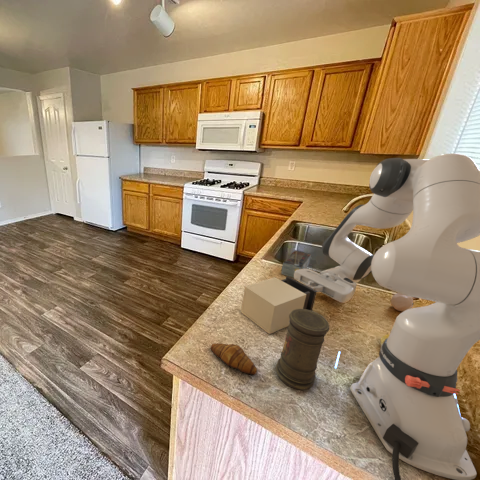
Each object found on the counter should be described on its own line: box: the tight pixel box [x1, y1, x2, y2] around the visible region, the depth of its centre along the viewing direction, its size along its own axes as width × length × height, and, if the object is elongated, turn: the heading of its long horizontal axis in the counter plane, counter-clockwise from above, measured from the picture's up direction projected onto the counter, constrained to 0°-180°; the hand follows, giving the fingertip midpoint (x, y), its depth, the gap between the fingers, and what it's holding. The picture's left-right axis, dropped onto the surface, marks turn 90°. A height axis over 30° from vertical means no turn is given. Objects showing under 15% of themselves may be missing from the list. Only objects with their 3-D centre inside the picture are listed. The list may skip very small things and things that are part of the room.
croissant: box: [210, 342, 258, 376], centre depth 72 cm, size 14×7×5 cm, turn 48°
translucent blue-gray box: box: [281, 249, 312, 279], centre depth 124 cm, size 8×19×7 cm, turn 139°
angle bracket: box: [280, 276, 318, 311], centre depth 94 cm, size 17×11×9 cm, turn 117°
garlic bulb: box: [390, 292, 415, 312], centre depth 95 cm, size 7×6×8 cm
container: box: [275, 309, 330, 391], centre depth 66 cm, size 9×9×18 cm
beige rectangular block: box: [240, 276, 307, 335], centre depth 90 cm, size 15×13×11 cm
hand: (308, 288), depth 97 cm, fingers closed
